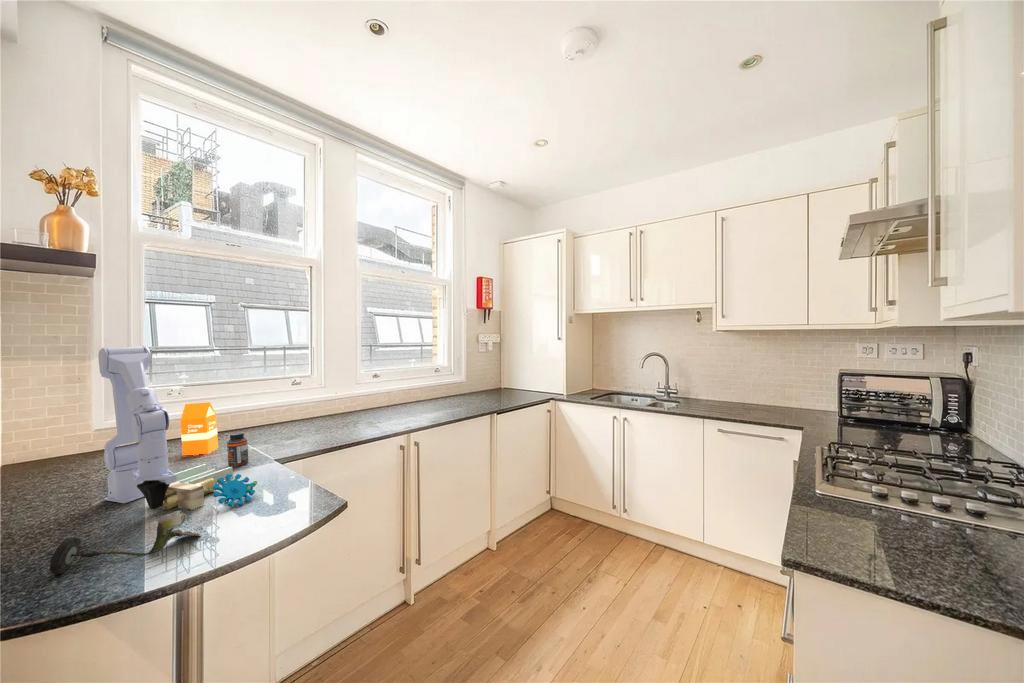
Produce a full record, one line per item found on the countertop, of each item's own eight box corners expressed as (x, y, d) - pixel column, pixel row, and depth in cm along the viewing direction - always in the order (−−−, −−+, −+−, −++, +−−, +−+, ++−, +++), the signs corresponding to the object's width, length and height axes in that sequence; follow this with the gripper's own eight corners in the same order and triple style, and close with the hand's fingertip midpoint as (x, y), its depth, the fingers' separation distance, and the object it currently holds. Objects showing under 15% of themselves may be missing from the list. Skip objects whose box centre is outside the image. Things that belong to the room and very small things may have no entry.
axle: (169, 511, 101) (169, 497, 101) (159, 507, 102) (160, 493, 102) (216, 492, 112) (217, 480, 112) (207, 489, 114) (208, 476, 113)
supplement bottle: (224, 466, 135) (222, 434, 134) (241, 460, 140) (239, 430, 140) (235, 468, 132) (233, 436, 132) (252, 462, 138) (250, 431, 138)
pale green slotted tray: (163, 489, 116) (162, 477, 116) (205, 474, 127) (204, 463, 127) (191, 493, 112) (191, 481, 112) (233, 477, 123) (232, 466, 123)
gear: (222, 508, 97) (209, 476, 101) (211, 522, 99) (199, 490, 102) (265, 496, 107) (252, 468, 111) (255, 509, 109) (242, 480, 112)
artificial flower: (72, 566, 80) (84, 515, 82) (203, 551, 88) (211, 505, 91) (41, 579, 72) (56, 522, 74) (189, 561, 80) (198, 510, 83)
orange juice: (193, 450, 156) (190, 402, 155) (218, 448, 158) (215, 400, 157) (182, 456, 148) (178, 405, 147) (208, 454, 150) (205, 404, 149)
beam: (153, 503, 106) (152, 484, 106) (166, 498, 109) (164, 480, 108) (192, 510, 101) (190, 490, 101) (204, 505, 104) (203, 485, 103)
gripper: (116, 459, 98) (119, 511, 98) (152, 464, 93) (155, 518, 94) (149, 451, 105) (152, 499, 105) (184, 454, 100) (187, 505, 100)
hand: (156, 507), depth 100 cm, fingers closed, pressing on axle
